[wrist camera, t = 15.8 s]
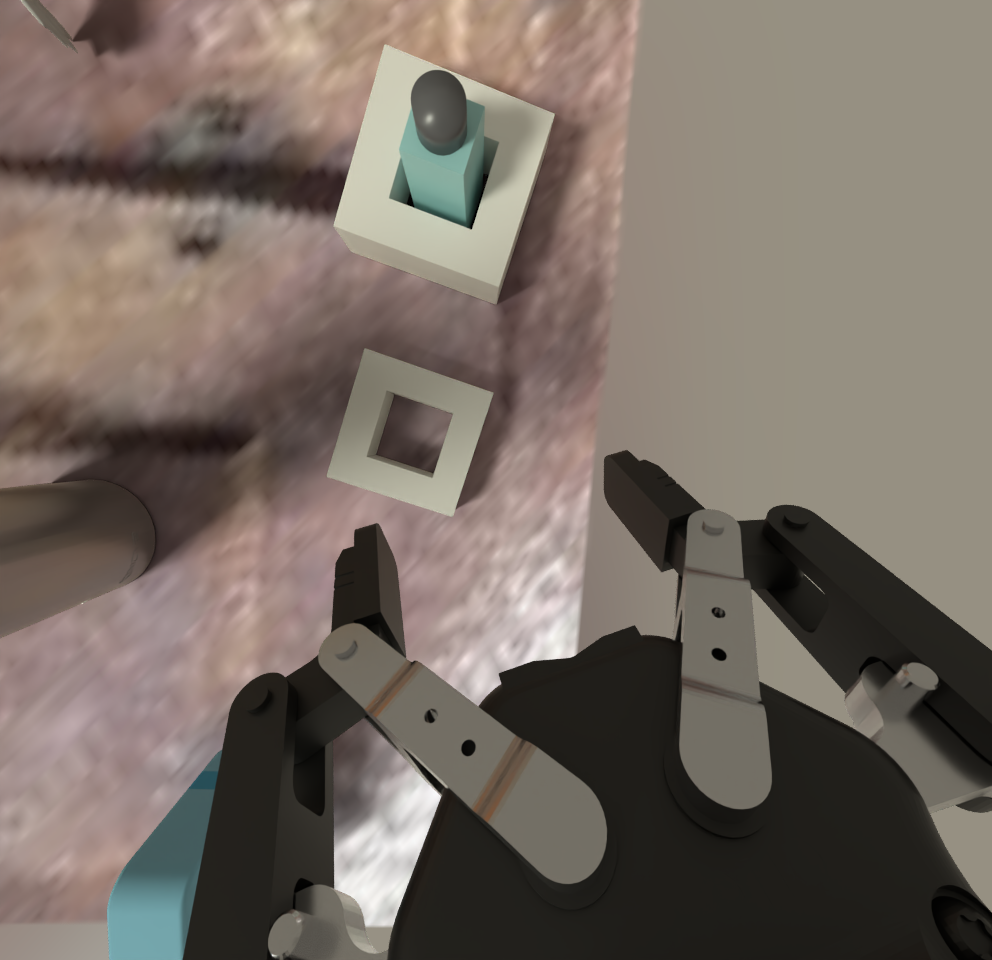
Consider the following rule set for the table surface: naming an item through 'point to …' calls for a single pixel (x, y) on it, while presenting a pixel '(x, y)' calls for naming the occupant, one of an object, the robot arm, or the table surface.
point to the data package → (162, 880)
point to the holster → (368, 420)
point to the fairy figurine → (48, 21)
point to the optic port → (422, 236)
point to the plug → (444, 148)
